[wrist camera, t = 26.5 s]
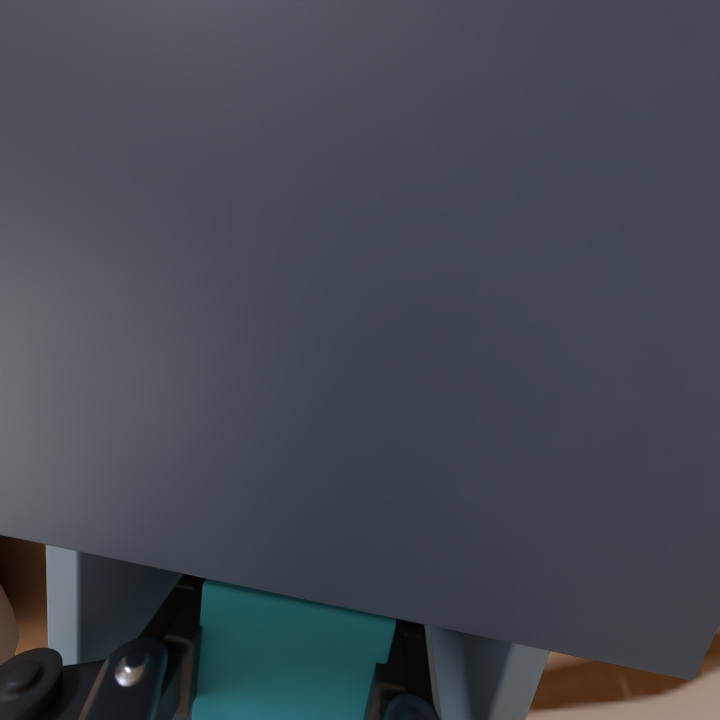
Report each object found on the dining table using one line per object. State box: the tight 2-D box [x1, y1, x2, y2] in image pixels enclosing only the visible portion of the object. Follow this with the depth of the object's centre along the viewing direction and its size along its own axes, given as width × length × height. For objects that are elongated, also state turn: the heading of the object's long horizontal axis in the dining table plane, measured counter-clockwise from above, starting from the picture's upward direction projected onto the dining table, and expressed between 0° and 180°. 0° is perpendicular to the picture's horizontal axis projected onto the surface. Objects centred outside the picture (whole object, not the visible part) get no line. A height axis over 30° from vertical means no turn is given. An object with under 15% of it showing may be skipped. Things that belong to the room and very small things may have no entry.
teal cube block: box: [191, 579, 396, 720], centre depth 11 cm, size 4×4×4 cm
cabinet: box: [0, 0, 720, 680], centre depth 9 cm, size 16×14×10 cm
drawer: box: [46, 545, 550, 720], centre depth 12 cm, size 20×13×8 cm, turn 170°
